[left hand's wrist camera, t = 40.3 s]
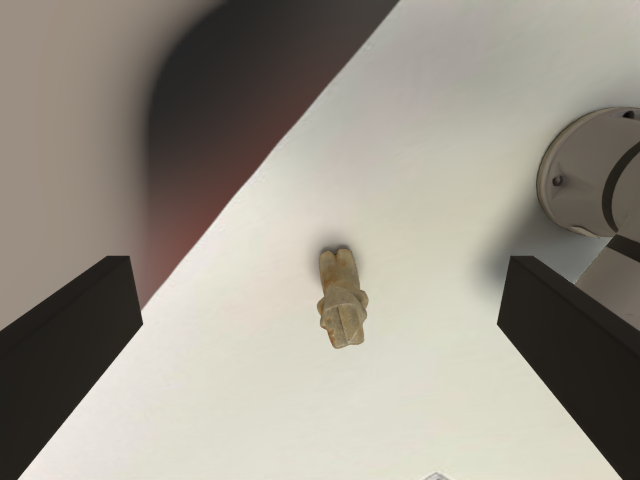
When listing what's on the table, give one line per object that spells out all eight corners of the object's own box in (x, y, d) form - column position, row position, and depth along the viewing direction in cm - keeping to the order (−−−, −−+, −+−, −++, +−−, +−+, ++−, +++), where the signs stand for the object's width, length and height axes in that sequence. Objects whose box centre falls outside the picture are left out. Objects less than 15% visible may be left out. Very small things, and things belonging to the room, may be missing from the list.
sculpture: (357, 243, 48) (372, 300, 34) (363, 290, 50) (379, 362, 36) (313, 249, 48) (310, 308, 34) (321, 296, 50) (322, 370, 36)
